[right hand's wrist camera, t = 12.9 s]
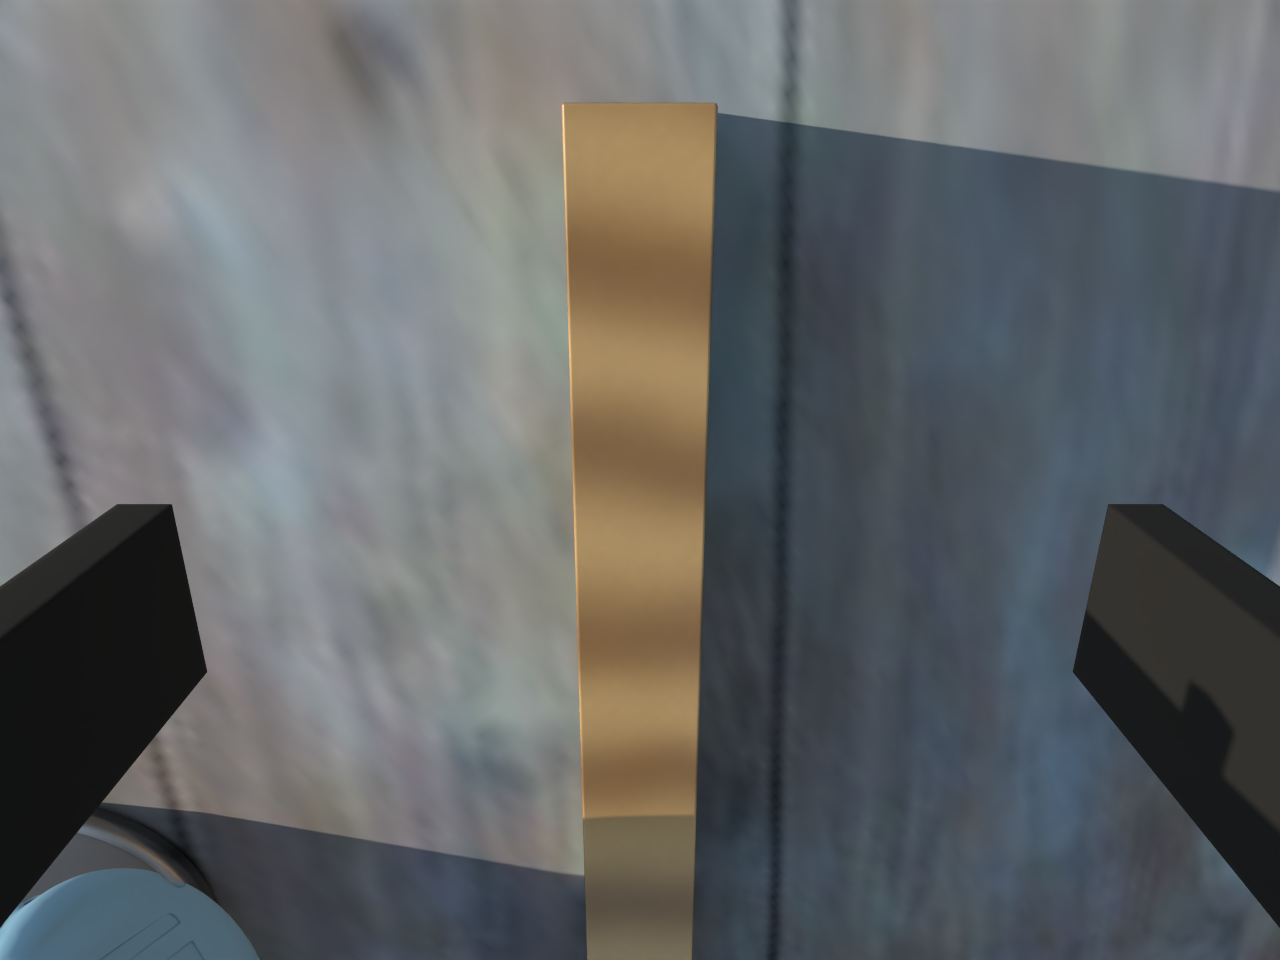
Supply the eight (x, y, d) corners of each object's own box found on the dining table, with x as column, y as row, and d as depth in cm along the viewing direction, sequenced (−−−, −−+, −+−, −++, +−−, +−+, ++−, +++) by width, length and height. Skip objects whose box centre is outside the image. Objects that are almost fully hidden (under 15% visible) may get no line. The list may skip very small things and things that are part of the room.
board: (578, 109, 34) (561, 102, 27) (700, 109, 34) (717, 102, 27) (603, 1172, 58) (597, 1327, 51) (675, 1172, 58) (681, 1327, 51)
